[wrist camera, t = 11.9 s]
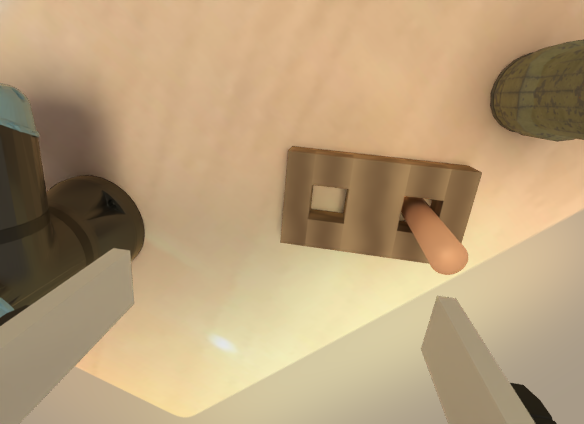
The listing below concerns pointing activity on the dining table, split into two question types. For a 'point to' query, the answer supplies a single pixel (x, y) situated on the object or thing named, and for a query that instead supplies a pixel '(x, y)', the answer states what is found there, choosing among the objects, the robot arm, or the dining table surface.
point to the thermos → (543, 93)
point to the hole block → (371, 201)
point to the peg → (434, 237)
